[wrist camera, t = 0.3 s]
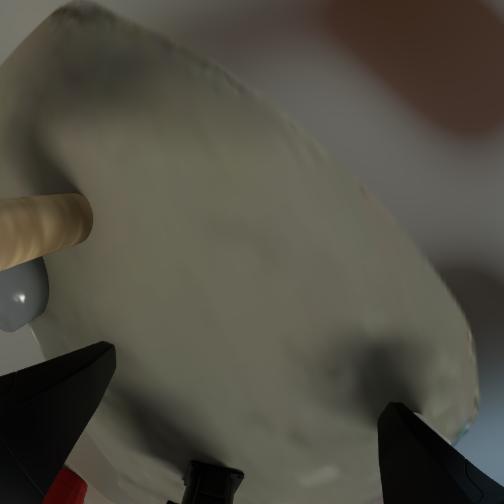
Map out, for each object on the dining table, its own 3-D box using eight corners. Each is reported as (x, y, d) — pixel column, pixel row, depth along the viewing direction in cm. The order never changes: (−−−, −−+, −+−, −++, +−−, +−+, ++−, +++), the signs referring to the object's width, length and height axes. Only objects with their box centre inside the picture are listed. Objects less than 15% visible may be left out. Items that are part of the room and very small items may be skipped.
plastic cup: (88, 498, 34) (66, 538, 23) (44, 463, 33) (16, 501, 21) (111, 493, 32) (86, 541, 20) (60, 454, 31) (27, 499, 19)
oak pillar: (89, 249, 23) (-20, 295, 11) (53, 236, 23) (-52, 269, 11) (96, 198, 22) (-22, 215, 10) (60, 188, 22) (-52, 199, 10)
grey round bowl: (49, 332, 25) (27, 348, 21) (-4, 298, 25) (-25, 309, 21) (51, 243, 23) (23, 252, 19) (-4, 219, 23) (-30, 224, 19)
